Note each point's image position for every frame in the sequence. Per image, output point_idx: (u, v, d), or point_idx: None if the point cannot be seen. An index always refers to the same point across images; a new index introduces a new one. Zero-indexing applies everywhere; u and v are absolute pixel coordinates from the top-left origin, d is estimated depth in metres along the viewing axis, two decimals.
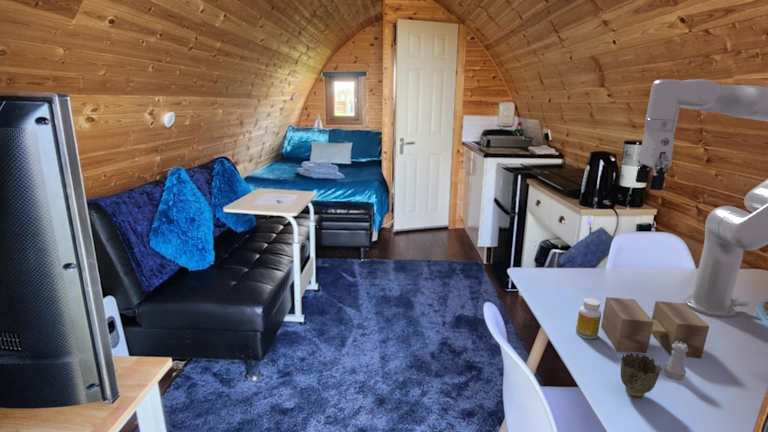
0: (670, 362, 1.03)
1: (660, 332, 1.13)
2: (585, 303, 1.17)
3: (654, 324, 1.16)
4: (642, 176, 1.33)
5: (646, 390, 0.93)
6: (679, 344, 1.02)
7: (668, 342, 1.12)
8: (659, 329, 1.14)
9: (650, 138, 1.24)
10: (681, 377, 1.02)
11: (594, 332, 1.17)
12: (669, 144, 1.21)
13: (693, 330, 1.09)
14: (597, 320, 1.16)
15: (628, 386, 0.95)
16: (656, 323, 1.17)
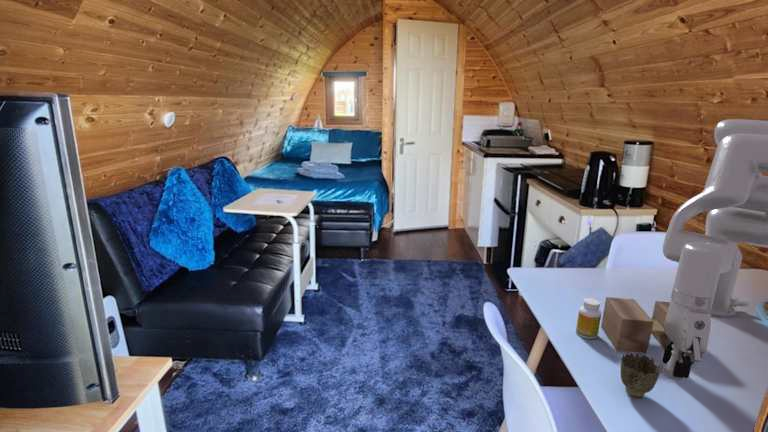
0: (670, 362, 1.03)
1: (660, 332, 1.13)
2: (585, 303, 1.17)
3: (654, 324, 1.16)
4: None
5: (646, 390, 0.93)
6: None
7: None
8: (659, 329, 1.14)
9: (680, 314, 0.98)
10: None
11: (594, 332, 1.17)
12: (705, 328, 0.95)
13: None
14: (597, 320, 1.16)
15: (628, 386, 0.95)
16: (656, 323, 1.17)
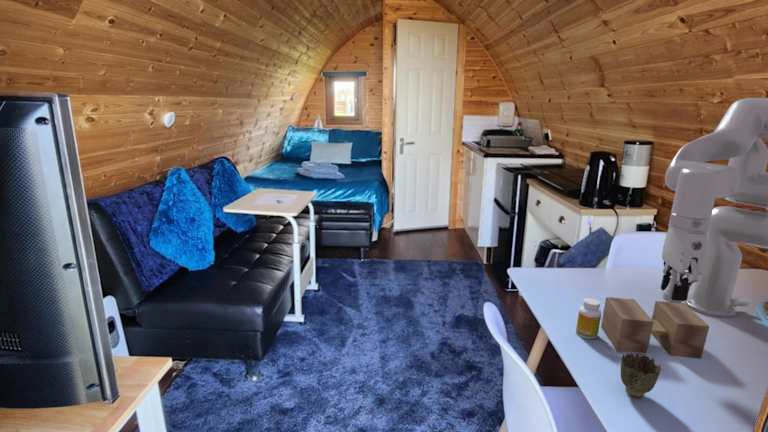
0: (668, 287, 1.06)
1: (660, 332, 1.13)
2: (585, 303, 1.17)
3: (654, 324, 1.16)
4: None
5: (646, 390, 0.93)
6: None
7: (668, 342, 1.12)
8: (659, 329, 1.14)
9: (678, 237, 1.01)
10: (679, 301, 1.05)
11: (594, 332, 1.17)
12: (702, 248, 0.98)
13: (693, 330, 1.09)
14: (597, 320, 1.16)
15: (628, 386, 0.95)
16: (656, 323, 1.17)
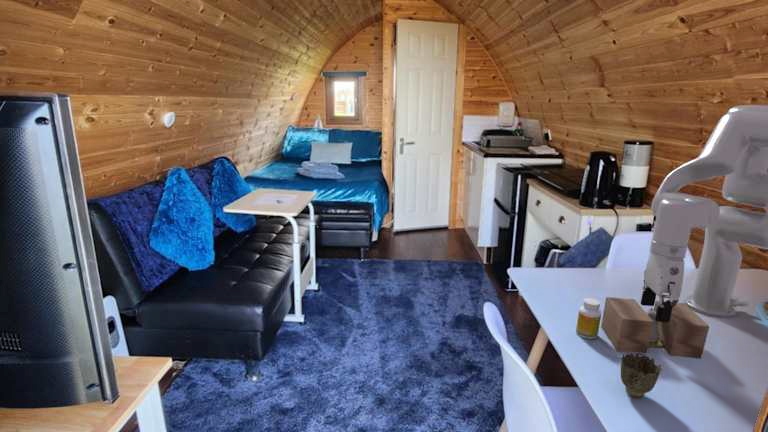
0: None
1: (657, 346, 1.14)
2: (585, 303, 1.17)
3: None
4: (648, 299, 1.18)
5: (646, 390, 0.93)
6: (653, 310, 1.15)
7: (668, 342, 1.12)
8: (656, 343, 1.15)
9: (657, 262, 1.10)
10: (655, 340, 1.15)
11: (594, 332, 1.17)
12: (679, 274, 1.07)
13: (693, 330, 1.09)
14: (597, 320, 1.16)
15: (628, 386, 0.95)
16: None
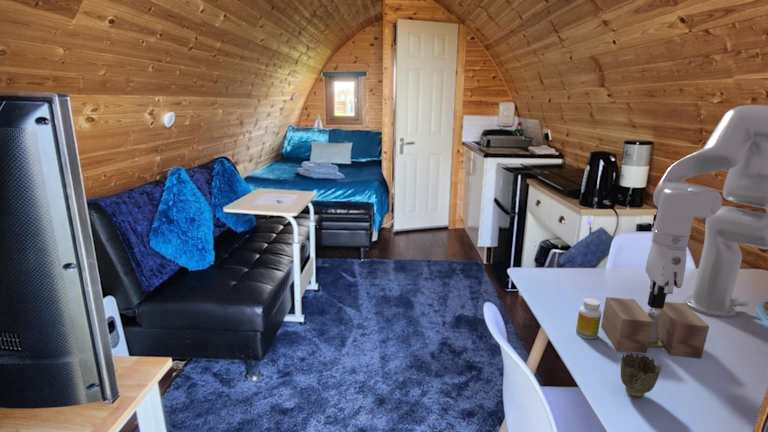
0: None
1: (657, 346, 1.14)
2: (585, 303, 1.17)
3: None
4: None
5: (646, 390, 0.93)
6: (653, 310, 1.15)
7: (668, 342, 1.12)
8: (656, 343, 1.15)
9: (659, 252, 1.09)
10: (655, 340, 1.15)
11: (594, 332, 1.17)
12: (681, 263, 1.06)
13: (693, 330, 1.09)
14: (597, 320, 1.16)
15: (628, 386, 0.95)
16: None
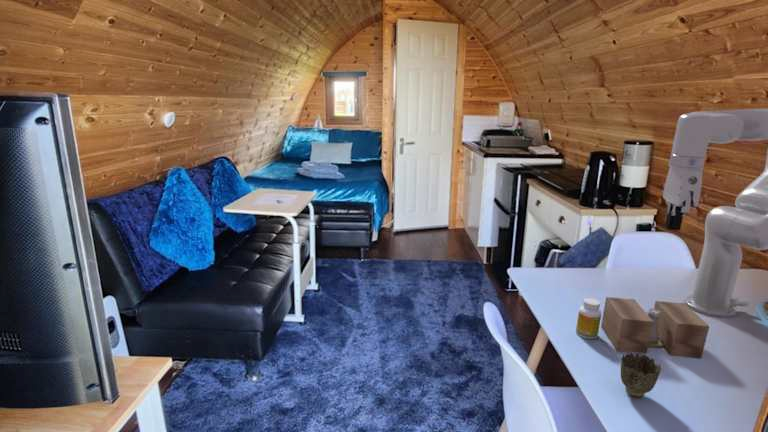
0: None
1: (657, 346, 1.14)
2: (585, 303, 1.17)
3: None
4: None
5: (646, 390, 0.93)
6: (653, 310, 1.15)
7: (668, 342, 1.12)
8: (656, 343, 1.15)
9: (676, 175, 1.17)
10: (655, 340, 1.15)
11: (594, 332, 1.17)
12: (697, 183, 1.14)
13: (693, 330, 1.09)
14: (597, 320, 1.16)
15: (628, 386, 0.95)
16: None
